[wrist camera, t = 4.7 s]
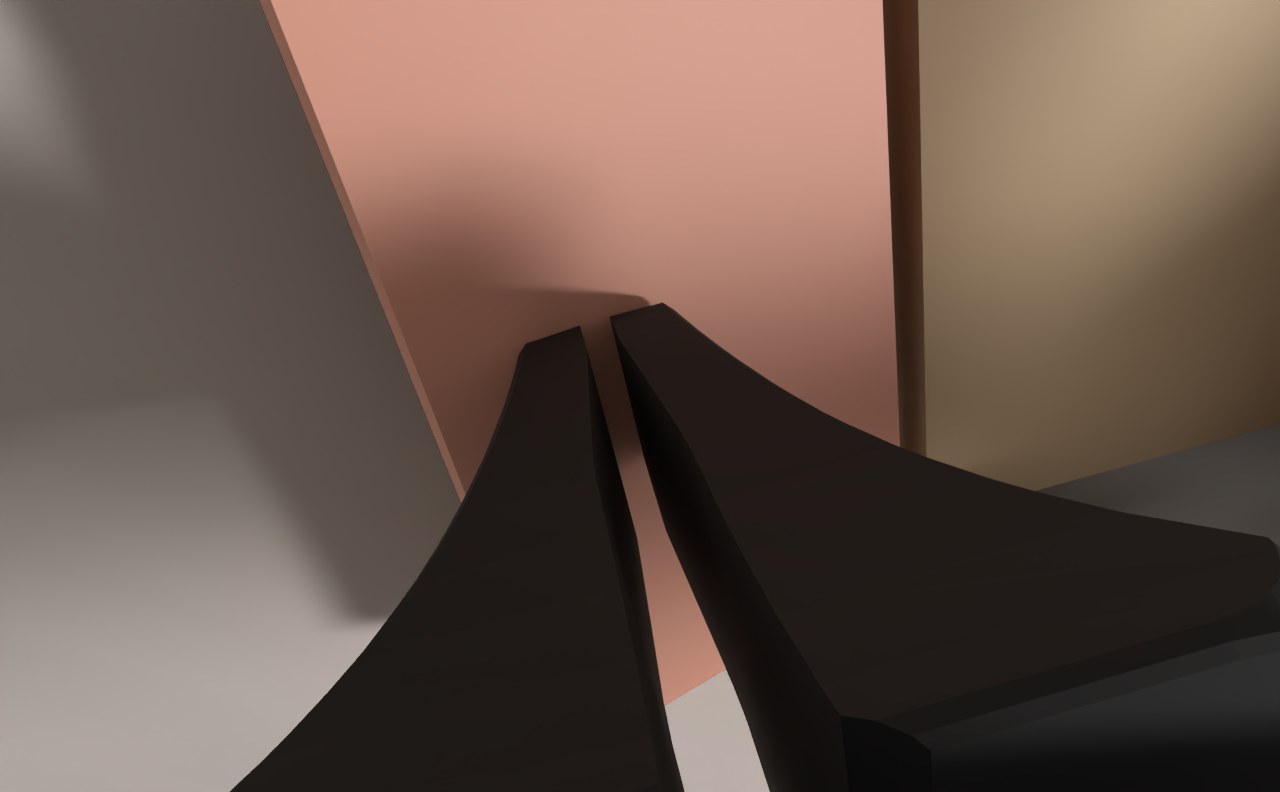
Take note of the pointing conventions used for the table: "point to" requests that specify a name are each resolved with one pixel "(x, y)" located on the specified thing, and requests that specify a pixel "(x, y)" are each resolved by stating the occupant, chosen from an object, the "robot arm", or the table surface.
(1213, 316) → the trailer
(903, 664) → the robot arm
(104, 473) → the table surface
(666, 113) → the panel
